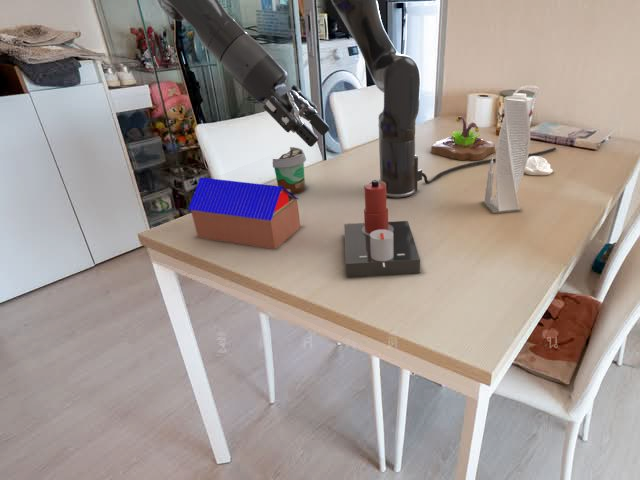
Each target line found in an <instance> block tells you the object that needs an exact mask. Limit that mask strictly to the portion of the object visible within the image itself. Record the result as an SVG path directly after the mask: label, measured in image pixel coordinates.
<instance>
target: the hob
mask: <svg viewBox="0 0 640 480" xmlns="http://www.w3.org/2000/svg"><path fill="white" fill-rule="evenodd" d="M388 224H389V225H391V226H392V227H393V228H394V231H393V236H394V257H393V258H392V259H390V260H388V261H376V260H373V259H372V258H371V251H370V236H367V235H365V234H363V233H362V228H363V227H364V226H365V222H359V223H344V224H343V225H344V226H343V227H344V229H343V230H344V254H345V256H344V258H345V272H346V274H345V275H346V278H348V279H349V278H362V277H363V278H364V277H377V276H378V277H379V276H396V275H411V274H420V273H421V257H420V255H419V252H418V248H417V245H416V242H415V239H414V235H413V232H412V229H411V226H410V223H409V221H408V220H399V221H388Z"/></svg>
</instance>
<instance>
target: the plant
mask: <svg viewBox="0 0 640 480" xmlns="http://www.w3.org/2000/svg"><path fill="white" fill-rule="evenodd" d="M461 120H462V125H463V126H462V130H460V132H459V131H456V130H453V132H452V134H453V135H452V134H449V137H446V138H443V139H439V140H437V141H435V143H434V144H432V145H431V149H430V153H432V154H434V155H439V156H442V157H444V158H449V159H452V160H458V161H471V162H476V161H482V160H484V159H485V158H486V156H487V157H488V156H490V155H492V154H494V153H495V148H496V145H495V143H494V142H493V141H488V140H485V139H483V138H480V137H481V134H476V135H475V132H476V133H479V131H480V128H479V127H478V126H477V123H476V122H470V123H469V124H468V125H467V122H466V120H465V118H464V117H463V116H457V117H456V118H455V121H456V122H457V123H459V122H461ZM472 128H475V129H474V131H473V130H472Z"/></svg>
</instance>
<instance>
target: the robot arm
mask: <svg viewBox="0 0 640 480" xmlns="http://www.w3.org/2000/svg"><path fill="white" fill-rule="evenodd" d="M157 2H158V5H159V7H160V8H161V10H162V11H163V12H164V14H165V15H166V16H167V17H168V18H170V19H172V20H174V21H178V22H187V23H188V24H189V26H190V27H191V28H192V29H193V31H194V32H195V35H196V37H197V38H198V40H199V42H200V43H201V45H202V46H203V47H204V48H205V49H206V50H207V51H208V52H209V53H210V54H211V55H212V56H213V57H214V58H215V59H216V60H217V61H218V62H219V63H220V64H221V65H222V66H223V67H224V69H225V70H226V71H227V72H228V74H229V75H230V76H231V77H232V78H233V79H234V80H235V81H236V82H237V83H238V84H239V85H240V86H241V87H242V88H243V89H244V90H245V91H246V92H247V93H248V94H249V95H250V96H251V97H252V98H253V99H254V100H255V101H256V102H257V103H258V104H260V105H263V106H262V107H263V109H264V110H265V111H266V112H267V113H268V114H269V115H270V117H271V118H272V119H273V120H274V121H275V122H276V123H277V124H278V125H279V126H280V127H281V128H282V129H283V130H284V131H285V132H286V133H290V132H291V133H294V134H296V135H297V136H298V137H300V139H301V140H302V141H303V142H304V143H305V144H306V145H307V146H308V147H310V148H311V147H313V146H314V145H316V143H317V142H318V141H319V137H318V136H317V135H316V133H315V132H314V131H313V130H311V128H310V127H308V125H307V124H306V123H305V122H303V120H302V119H304V120H305V121H307V122H308V123H309V125H311V126H312V127H313V128H314V130H316V131H317V132H318V133H319V134H320V135H321V136H325V135H326V134H327V133H328V132H329V131H330V129H331V128H330V125H328V123H327V122H326V121H325V120H324V119H323V118H322V117H321V116H320V114H318V111H317V109H318V107H317V105H316V104H315V103H314V102H313V101H312V100H311V99H310V98H309V97H308V96H307V95H306V94H305V93H304V92H303V91H302V90H301V89H300V88H299V86H297V85H296V84H293V85H292V86H291V87H289V86H288V85H287V84H286V82H285V81H286V80H287V78H288V72H287V71H286V70H285V69H284V68H283V66H281V65H280V64H279V63H278V62H277V61H276V59H274V57H272V55H270V53H269V52H268V51H267V50H266V49H265V48H264V47H263V46H262V45H261V44H260V43H259V42H258V41H257V40H255V39H254V38H253V36H251V35H250V34H249V33H248V32H247V31H246V30H245V29H243V27H242V26H241V25H240V24H239V23H238V22H237V21H236V20H235V19H234V18H233V17H232V16H231V15H230V14H229V13H228V12H227V10H225V8H224V7H223V6H222V4H221V2H220V1H219V0H157ZM330 2H331V4H332V6H333V7H334V9H335V11H336V12H337V14H338V16H339V17H340V19H341V21H342V23H343V24H344V26H345V27H346V29H347V31H348V33H349V34H350V36H351V37H352V39H353V40H354V42H355V44H356V45H357V47H358V49H359V52H360V53H361V55H362V58H363V60H364V62H365V65H366V67H367V69H368V72H369V74H370V76H371V78H372V81H373V83H374V85H375V86H376V88H377V89H378V90H379V91H380V92H382V93H383V109H382V112H380V113H379V114H378V147H379V148H378V153H379V179H378V181H379V183H383V184H385V185H386V198H392V199H393V198H395V199H397V198H400V199H401V198H407V197H410V196H413V194H415V193H416V192H418V185H419V184H418V182H420V181H422V180H423V181H424V183H425V184H428V185H429V184H431V183H433V182H435V181H437V179H438V178H440V177H442V176H444V175H446V174H449V173H450V172H453V171H457V170H459V169H463V168H467V167H471V166H476V165H481V164H487V163H490V161H491V160H492V158H491V159H482V160H477V161H472V162H468V163H464V164H461V165H456V166H453V167H450V168H448V169H446V170H443V171H441V172H439V173H437V174H436V175H435V176H434V177H433V178H431V180H428V177H427V174H426V173H424V172H423V169H420V168H419V156H418V155H416V120H417V117H418V115H419V110H420V109H419V108H420V97H421V95H420V94H421V72H420V68H419V65H418V64H417V62H416V60H414V58H412V57H411V56H409V55H405V54H401V53H399V52H398V51H397V49H396V48H395V46H394V44H393V43H392V41H391V40H390V39H391V38H389V35H388V34H387V32H386V30H385V28H384V25H383V22H382V19H381V14H380V10H379V3H378V0H330ZM556 150H557V148H556V147H552V148H548V149H545V150H542V151H536V152H532V153H529V155H528V158H529V157H531V156H539V155H543V154H547V153H550V152H553V151H556ZM493 161H494V162H495V163H496V158H493ZM494 162H493V163H494Z"/></svg>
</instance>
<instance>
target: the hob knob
mask: <svg viewBox="0 0 640 480" xmlns="http://www.w3.org/2000/svg"><path fill="white" fill-rule="evenodd" d="M370 251H371V258H372V259H373V260H376V261H388V260H390V259H392V258H393V257H394V236H393V232H391V231H389V230H383V229H381V230H375V231H373V232H371V233H370Z"/></svg>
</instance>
